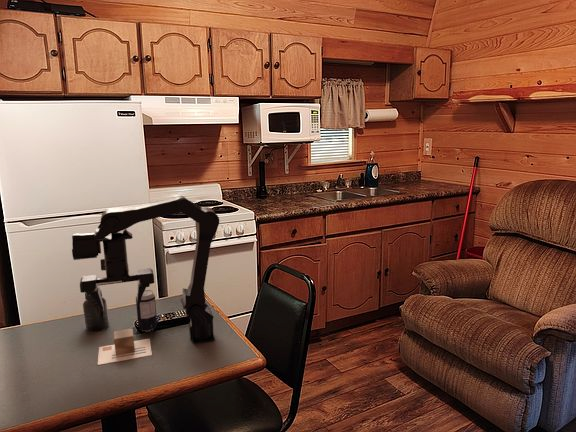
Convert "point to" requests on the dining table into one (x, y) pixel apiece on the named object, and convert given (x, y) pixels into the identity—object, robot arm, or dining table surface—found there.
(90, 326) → the supplement bottle
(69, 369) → the dining table surface
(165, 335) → the dining table surface
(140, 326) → the beverage can
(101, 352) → the letter
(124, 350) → the walnut block
